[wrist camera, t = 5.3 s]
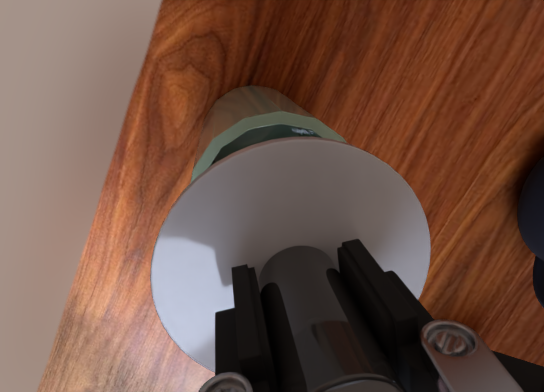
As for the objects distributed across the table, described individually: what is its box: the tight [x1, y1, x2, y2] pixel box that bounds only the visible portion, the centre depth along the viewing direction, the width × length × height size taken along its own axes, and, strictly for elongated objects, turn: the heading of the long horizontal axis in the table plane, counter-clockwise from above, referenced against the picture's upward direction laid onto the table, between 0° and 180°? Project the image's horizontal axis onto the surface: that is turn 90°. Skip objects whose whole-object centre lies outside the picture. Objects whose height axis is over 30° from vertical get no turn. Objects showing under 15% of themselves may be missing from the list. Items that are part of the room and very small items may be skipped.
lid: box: [150, 137, 431, 392], centre depth 11 cm, size 10×10×7 cm
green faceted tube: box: [191, 85, 347, 182], centre depth 26 cm, size 9×9×15 cm
